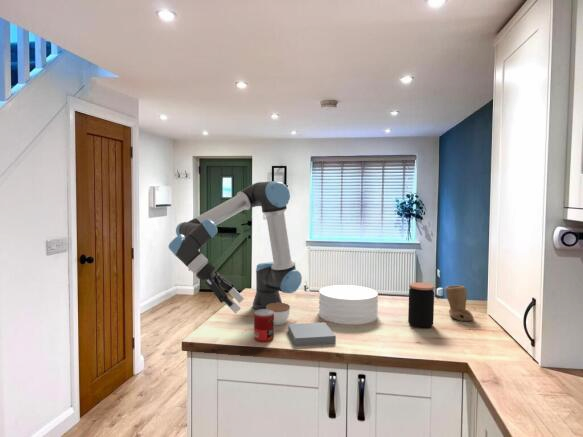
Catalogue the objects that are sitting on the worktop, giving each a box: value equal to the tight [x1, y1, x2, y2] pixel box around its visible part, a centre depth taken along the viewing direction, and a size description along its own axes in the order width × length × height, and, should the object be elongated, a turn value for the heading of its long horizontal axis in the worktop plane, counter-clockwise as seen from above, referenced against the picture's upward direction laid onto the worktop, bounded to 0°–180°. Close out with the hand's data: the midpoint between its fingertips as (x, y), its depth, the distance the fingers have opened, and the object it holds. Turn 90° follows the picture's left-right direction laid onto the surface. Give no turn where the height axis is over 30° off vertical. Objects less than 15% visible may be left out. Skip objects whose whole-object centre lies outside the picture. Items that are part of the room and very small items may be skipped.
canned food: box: [253, 309, 275, 343], centre depth 147 cm, size 8×8×11 cm
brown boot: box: [444, 284, 475, 322], centre depth 177 cm, size 15×12×15 cm
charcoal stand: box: [287, 321, 337, 347], centre depth 150 cm, size 16×16×3 cm
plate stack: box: [318, 284, 379, 325], centre depth 179 cm, size 28×28×12 cm
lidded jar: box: [266, 302, 291, 326], centre depth 166 cm, size 11×11×9 cm
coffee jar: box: [407, 282, 435, 329], centre depth 165 cm, size 11×11×18 cm
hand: (240, 305), depth 146 cm, fingers open, 13 cm apart
